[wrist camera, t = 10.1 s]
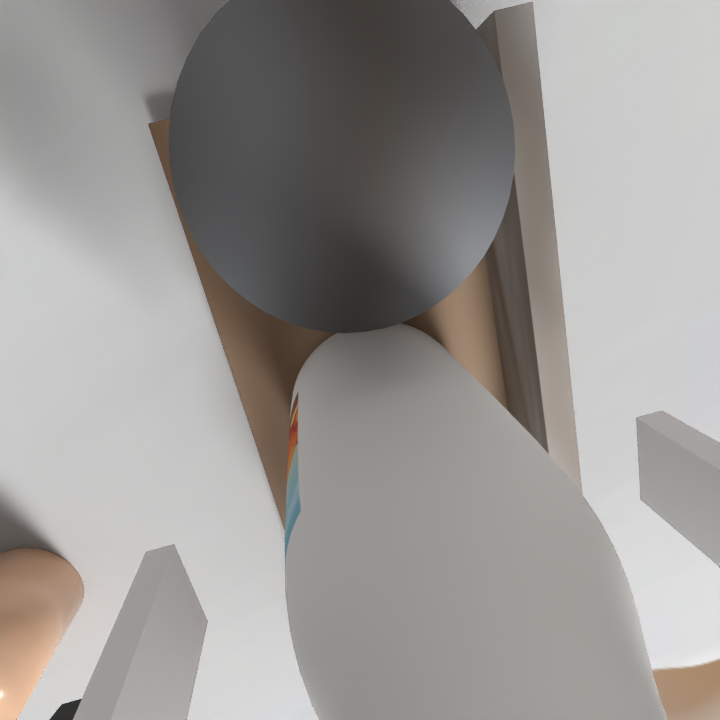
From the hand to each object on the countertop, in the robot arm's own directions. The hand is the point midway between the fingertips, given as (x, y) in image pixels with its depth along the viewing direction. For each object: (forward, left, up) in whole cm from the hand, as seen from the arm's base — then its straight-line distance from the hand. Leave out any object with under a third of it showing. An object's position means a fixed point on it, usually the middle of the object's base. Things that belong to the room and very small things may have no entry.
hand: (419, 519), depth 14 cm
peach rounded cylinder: (-19, -6, -11) cm, 23 cm away
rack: (+1, 0, -11) cm, 11 cm away
